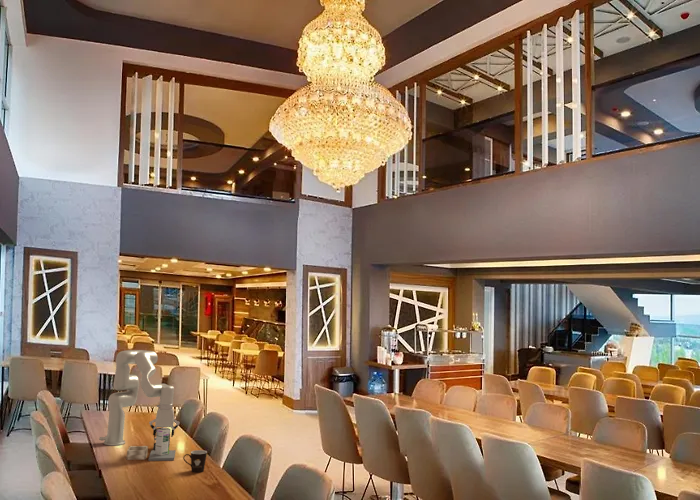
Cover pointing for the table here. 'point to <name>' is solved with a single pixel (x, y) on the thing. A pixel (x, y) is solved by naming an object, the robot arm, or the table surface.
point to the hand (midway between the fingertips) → (163, 436)
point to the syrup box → (162, 441)
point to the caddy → (137, 452)
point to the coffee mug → (197, 460)
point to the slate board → (162, 458)
